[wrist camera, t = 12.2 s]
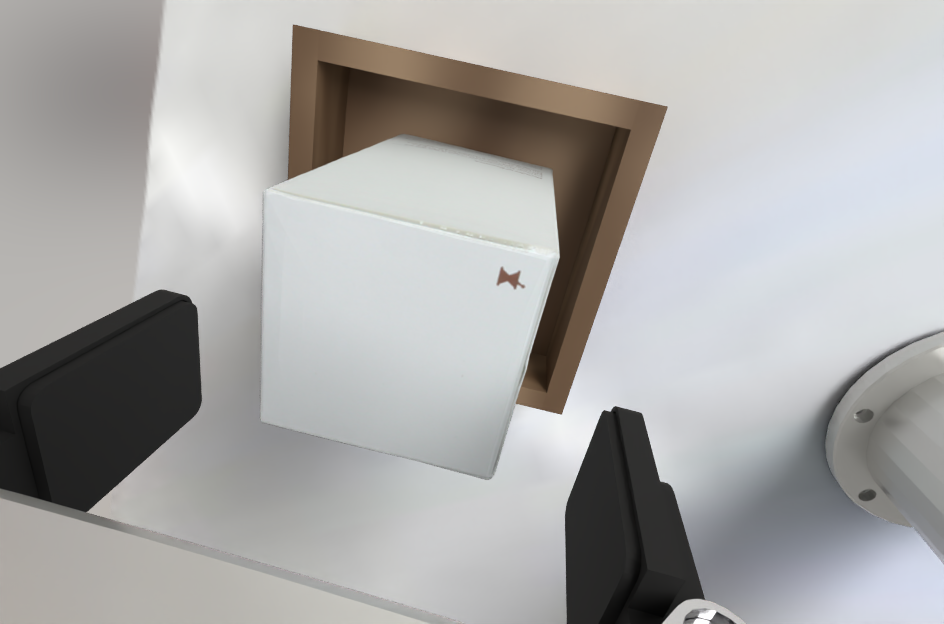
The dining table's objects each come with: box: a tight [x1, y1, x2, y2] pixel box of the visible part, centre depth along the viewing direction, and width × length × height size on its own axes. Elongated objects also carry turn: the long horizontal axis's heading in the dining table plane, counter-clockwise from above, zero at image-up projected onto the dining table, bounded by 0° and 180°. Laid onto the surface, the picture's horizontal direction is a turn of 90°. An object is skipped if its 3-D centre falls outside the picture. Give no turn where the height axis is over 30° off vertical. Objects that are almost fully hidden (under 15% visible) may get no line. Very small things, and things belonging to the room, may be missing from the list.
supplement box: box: [260, 134, 560, 480], centre depth 18 cm, size 7×7×13 cm
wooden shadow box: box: [288, 25, 667, 415], centre depth 23 cm, size 14×14×4 cm
